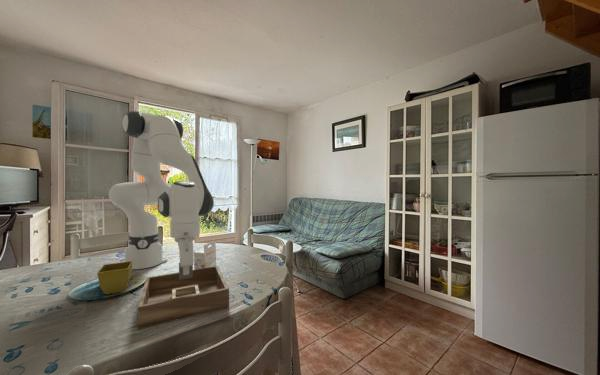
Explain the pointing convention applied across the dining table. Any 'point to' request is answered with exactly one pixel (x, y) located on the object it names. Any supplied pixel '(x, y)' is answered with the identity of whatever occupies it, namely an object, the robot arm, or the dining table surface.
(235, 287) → the dining table surface
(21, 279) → the dining table surface
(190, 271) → the plain grey cube
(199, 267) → the ink cartridge box
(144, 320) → the walled box
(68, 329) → the dining table surface
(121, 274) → the flower pot
